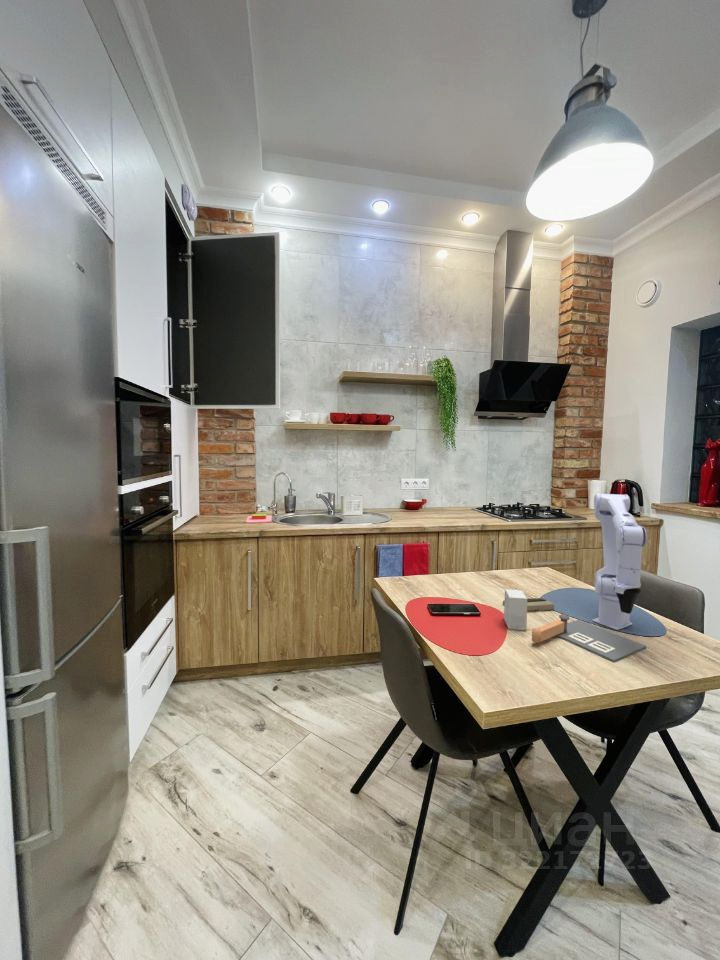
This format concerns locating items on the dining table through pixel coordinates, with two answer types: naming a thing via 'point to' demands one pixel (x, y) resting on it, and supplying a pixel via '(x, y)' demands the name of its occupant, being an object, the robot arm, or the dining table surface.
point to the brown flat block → (538, 605)
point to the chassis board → (598, 640)
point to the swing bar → (547, 631)
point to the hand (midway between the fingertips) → (625, 612)
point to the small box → (515, 609)
